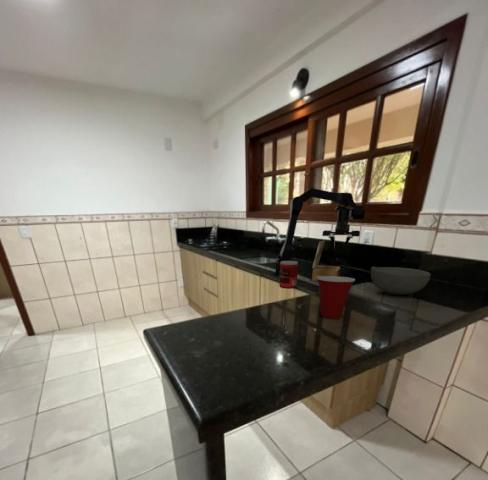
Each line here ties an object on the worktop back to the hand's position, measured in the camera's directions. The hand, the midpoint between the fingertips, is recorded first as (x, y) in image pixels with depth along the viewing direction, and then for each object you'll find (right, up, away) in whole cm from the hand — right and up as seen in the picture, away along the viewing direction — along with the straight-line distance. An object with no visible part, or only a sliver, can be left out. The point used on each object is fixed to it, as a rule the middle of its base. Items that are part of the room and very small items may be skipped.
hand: (339, 250), depth 144 cm
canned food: (-33, -24, -26) cm, 49 cm away
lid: (-14, -6, -13) cm, 20 cm away
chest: (-11, -18, -10) cm, 23 cm away
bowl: (+8, -29, -39) cm, 49 cm away
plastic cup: (-26, -39, -63) cm, 78 cm away
